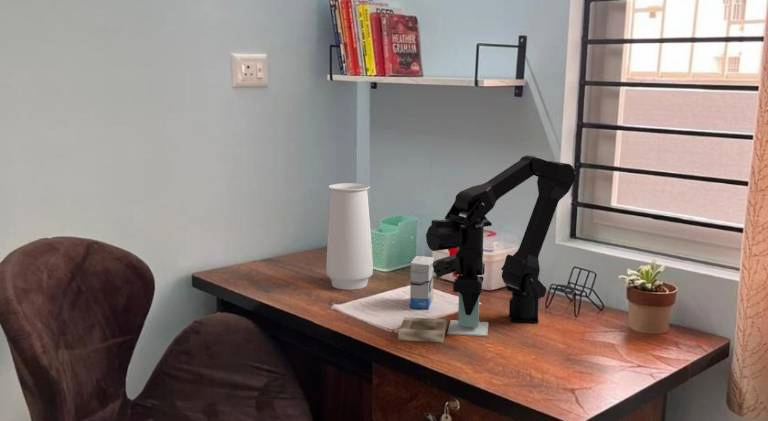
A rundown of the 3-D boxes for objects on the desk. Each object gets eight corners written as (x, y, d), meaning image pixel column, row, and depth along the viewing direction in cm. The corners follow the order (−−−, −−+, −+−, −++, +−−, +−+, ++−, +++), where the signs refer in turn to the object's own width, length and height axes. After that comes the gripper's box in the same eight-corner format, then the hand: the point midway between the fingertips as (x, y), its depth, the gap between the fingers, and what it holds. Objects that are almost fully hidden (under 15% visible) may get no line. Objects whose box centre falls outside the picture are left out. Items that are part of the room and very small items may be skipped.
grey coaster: (488, 323, 179) (488, 322, 179) (487, 336, 170) (487, 335, 170) (450, 321, 181) (450, 320, 180) (447, 334, 172) (447, 332, 172)
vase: (368, 292, 204) (368, 190, 199) (321, 290, 206) (320, 189, 201) (376, 279, 217) (376, 183, 211) (332, 277, 219) (331, 182, 213)
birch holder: (446, 327, 176) (447, 319, 176) (442, 342, 167) (443, 333, 166) (404, 325, 178) (404, 317, 178) (398, 339, 168) (398, 331, 168)
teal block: (478, 320, 177) (479, 287, 176) (477, 327, 173) (478, 293, 171) (459, 319, 178) (460, 286, 176) (458, 325, 173) (458, 292, 172)
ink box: (428, 309, 189) (429, 264, 187) (409, 308, 190) (409, 263, 188) (433, 300, 198) (434, 256, 196) (414, 298, 199) (415, 255, 197)
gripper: (439, 236, 182) (438, 298, 185) (430, 254, 164) (429, 322, 167) (485, 237, 180) (483, 300, 183) (482, 256, 162) (480, 325, 165)
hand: (468, 311), depth 175 cm, fingers closed on teal block, 4 cm apart
